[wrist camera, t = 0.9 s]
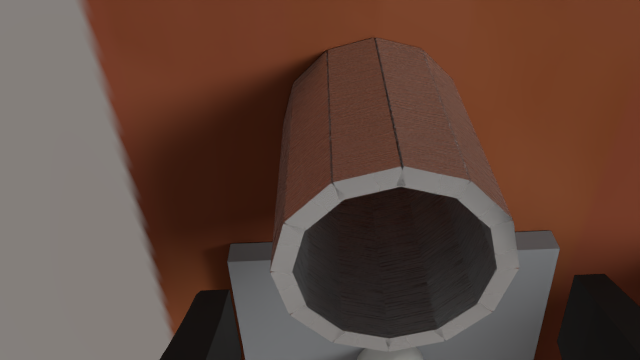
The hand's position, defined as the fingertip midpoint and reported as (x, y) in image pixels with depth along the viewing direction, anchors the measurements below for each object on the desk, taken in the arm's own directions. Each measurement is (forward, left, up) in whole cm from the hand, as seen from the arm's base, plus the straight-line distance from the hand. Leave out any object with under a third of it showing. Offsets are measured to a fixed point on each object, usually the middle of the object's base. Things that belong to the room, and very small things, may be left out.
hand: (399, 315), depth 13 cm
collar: (0, 0, -8) cm, 8 cm away
